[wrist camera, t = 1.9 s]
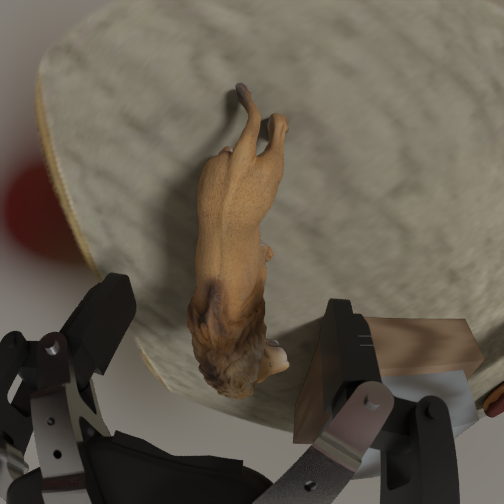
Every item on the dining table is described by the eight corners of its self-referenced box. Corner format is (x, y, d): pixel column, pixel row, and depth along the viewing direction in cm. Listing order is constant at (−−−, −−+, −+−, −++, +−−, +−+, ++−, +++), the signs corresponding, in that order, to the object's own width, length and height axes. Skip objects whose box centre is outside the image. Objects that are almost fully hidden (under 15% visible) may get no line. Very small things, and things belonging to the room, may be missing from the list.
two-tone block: (464, 318, 19) (502, 407, 11) (399, 404, 28) (408, 472, 19) (326, 314, 20) (335, 438, 12) (294, 406, 29) (290, 482, 20)
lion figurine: (291, 301, 20) (286, 414, 12) (219, 299, 21) (187, 404, 13) (288, 81, 12) (291, 58, 5) (190, 89, 13) (86, 96, 5)
